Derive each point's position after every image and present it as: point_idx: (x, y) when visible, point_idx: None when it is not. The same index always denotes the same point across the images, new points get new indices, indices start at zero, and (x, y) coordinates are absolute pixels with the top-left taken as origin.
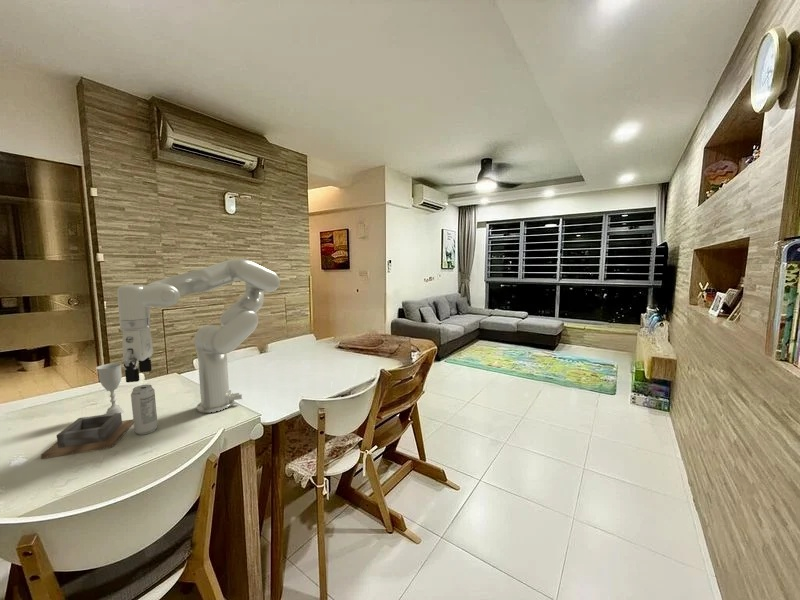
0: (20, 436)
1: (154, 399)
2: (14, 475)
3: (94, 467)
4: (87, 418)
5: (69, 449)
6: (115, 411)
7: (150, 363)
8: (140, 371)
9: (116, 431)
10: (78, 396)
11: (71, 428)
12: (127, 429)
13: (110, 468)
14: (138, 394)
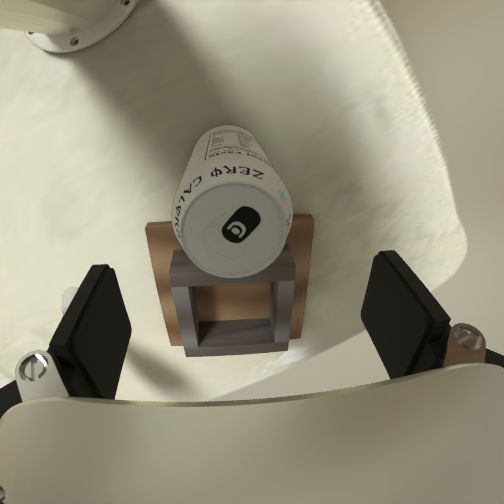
0: (179, 399)
1: (232, 146)
2: (346, 333)
3: (396, 211)
4: (195, 339)
5: (300, 301)
6: None
7: (78, 314)
8: (128, 329)
9: None
10: None
11: (250, 343)
12: None
13: (417, 175)
14: (290, 222)
